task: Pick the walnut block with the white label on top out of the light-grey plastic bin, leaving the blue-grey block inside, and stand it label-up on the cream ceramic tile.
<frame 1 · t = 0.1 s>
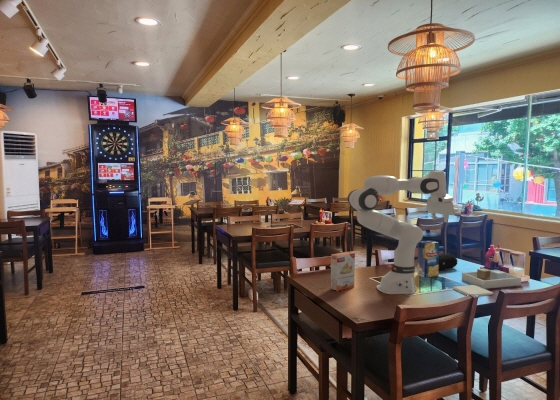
hand: (440, 220, 210), 39 cm above the table, tool pointing down, fingers open, 8 cm apart
cracker box: (342, 288, 210), on the table
walnut block: (483, 283, 215), resting on grey bin
portable speaker: (438, 270, 247), on the table
grey bin: (490, 283, 217), on the table
beverage box: (427, 275, 234), on the table
blue-grey block: (497, 281, 218), resting on grey bin
cream tile: (472, 292, 201), on the table
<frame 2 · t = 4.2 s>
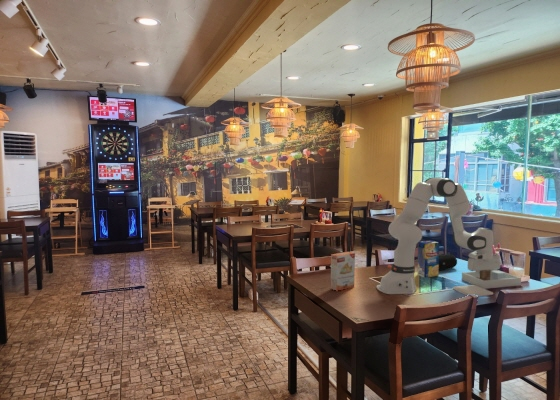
hand: (483, 277, 215), 4 cm above the table, tool pointing down, fingers closed on walnut block, 5 cm apart
walnut block: (483, 283, 215), resting on grey bin, touching gripper
everything else where it was.
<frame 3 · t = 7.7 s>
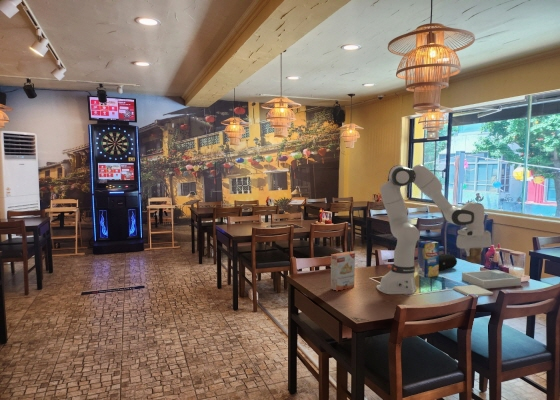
hand: (473, 255, 200), 21 cm above the table, tool pointing down, fingers closed on walnut block, 5 cm apart
walnut block: (473, 262, 200), point 17 cm above the table, touching gripper
everything else where it was.
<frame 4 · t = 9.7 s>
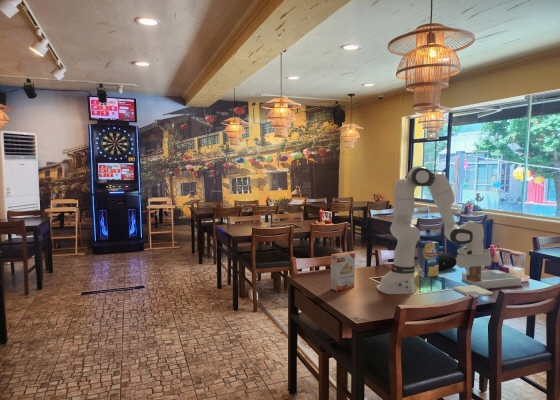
hand: (473, 274, 200), 10 cm above the table, tool pointing down, fingers closed on walnut block, 5 cm apart
walnut block: (473, 280, 200), point 7 cm above the table, touching gripper
everything else where it was.
when the fingers open (6 cm above the table, at t = 11.4 s): walnut block stays where it is, resting on cream tile.
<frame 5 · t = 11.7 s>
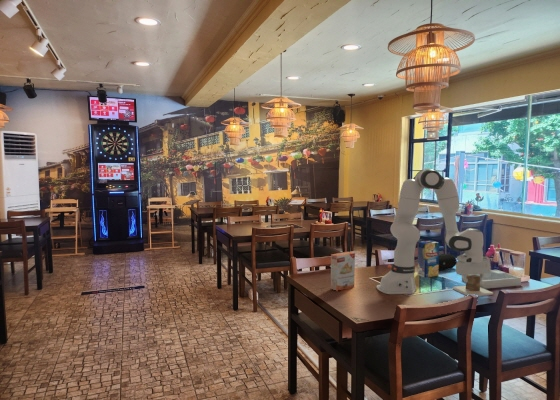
hand: (472, 281, 201), 6 cm above the table, tool pointing down, fingers open, 8 cm apart
walnut block: (472, 289, 201), point 1 cm above the table, touching cream tile
everything else where it was.
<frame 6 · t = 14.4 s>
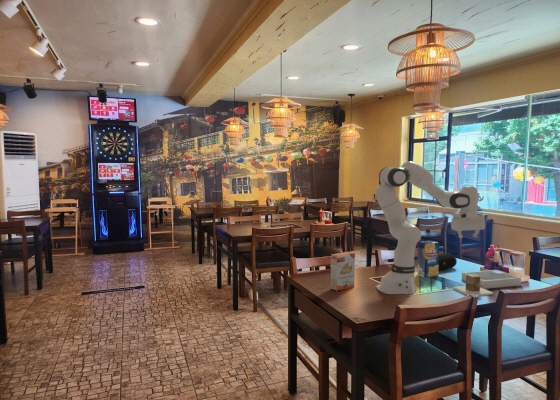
hand: (467, 237, 208), 29 cm above the table, tool pointing down, fingers open, 8 cm apart
nothing on the table moved.
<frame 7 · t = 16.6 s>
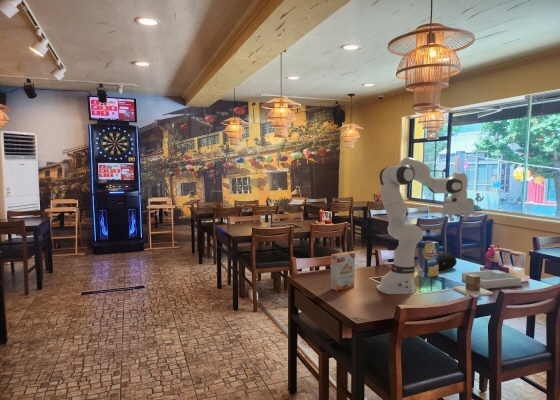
hand: (458, 220, 222), 37 cm above the table, tool pointing down, fingers open, 8 cm apart
nothing on the table moved.
at the end: walnut block inside the target area on the cream tile (0.1 cm from its centre), point 1.5 cm above the cream tile's base; walnut block tilted 0°; blue-grey block moved 0.0 cm from its start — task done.
